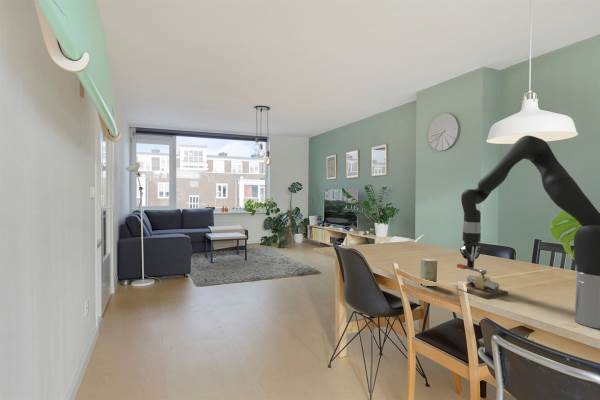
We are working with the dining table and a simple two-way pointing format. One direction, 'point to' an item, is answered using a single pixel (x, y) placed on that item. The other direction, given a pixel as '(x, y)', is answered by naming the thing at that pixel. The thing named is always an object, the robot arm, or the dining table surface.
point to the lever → (471, 268)
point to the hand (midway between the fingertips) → (470, 267)
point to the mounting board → (485, 292)
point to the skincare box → (428, 270)
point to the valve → (483, 283)
